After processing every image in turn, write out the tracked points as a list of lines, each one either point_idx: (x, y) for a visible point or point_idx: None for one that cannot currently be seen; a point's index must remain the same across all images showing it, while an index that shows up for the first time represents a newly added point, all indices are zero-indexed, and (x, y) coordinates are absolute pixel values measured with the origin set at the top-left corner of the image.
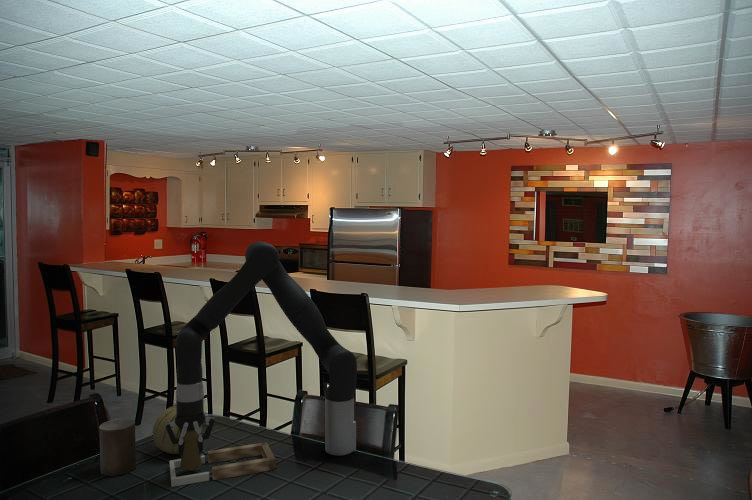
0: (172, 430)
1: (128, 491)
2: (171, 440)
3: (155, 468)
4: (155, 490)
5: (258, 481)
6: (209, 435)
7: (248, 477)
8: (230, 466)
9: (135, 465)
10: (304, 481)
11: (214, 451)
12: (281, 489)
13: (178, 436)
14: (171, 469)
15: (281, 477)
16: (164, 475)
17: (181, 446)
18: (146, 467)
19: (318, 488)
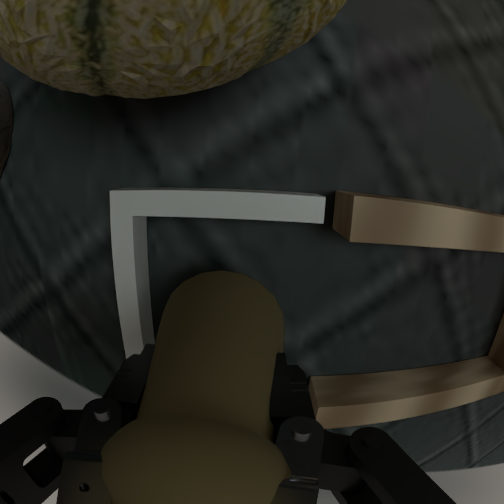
0: (7, 483)
1: (21, 338)
2: (48, 459)
3: (69, 175)
4: (94, 379)
5: (422, 428)
6: (369, 491)
7: None
8: (387, 418)
9: (3, 145)
10: (484, 433)
11: (390, 222)
12: (433, 460)
13: (113, 85)
14: (123, 313)
15: (471, 415)
16: (106, 273)
17: None
18: (40, 151)
19: (477, 455)
